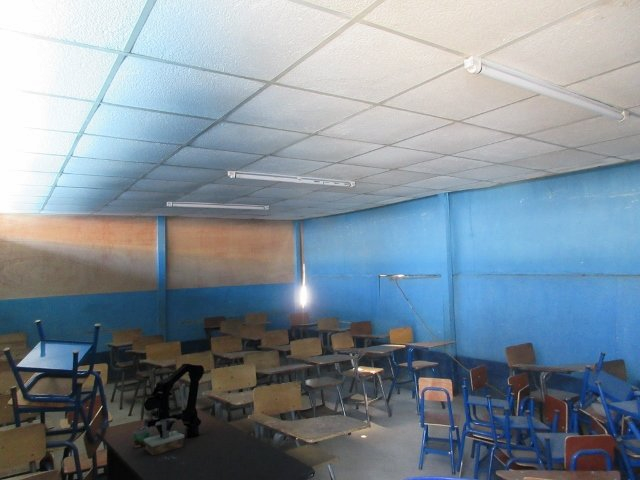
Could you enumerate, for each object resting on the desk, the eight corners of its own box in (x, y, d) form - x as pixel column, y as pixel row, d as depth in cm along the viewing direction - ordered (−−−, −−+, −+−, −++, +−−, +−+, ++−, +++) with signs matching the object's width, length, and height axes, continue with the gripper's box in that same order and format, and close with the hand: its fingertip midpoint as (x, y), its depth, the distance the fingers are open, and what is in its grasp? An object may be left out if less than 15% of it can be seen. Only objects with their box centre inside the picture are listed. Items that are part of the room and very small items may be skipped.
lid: (175, 434, 238) (175, 424, 239) (184, 439, 229) (184, 428, 230) (143, 443, 227) (143, 432, 228) (152, 448, 218) (152, 437, 219)
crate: (175, 442, 237) (174, 433, 238) (183, 447, 229) (183, 437, 229) (145, 451, 227) (145, 441, 227) (152, 456, 218) (152, 446, 219)
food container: (143, 450, 229) (143, 430, 230) (133, 449, 230) (132, 430, 231) (156, 441, 241) (156, 423, 242) (146, 441, 242) (146, 423, 243)
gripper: (174, 399, 242) (175, 428, 241) (140, 407, 230) (140, 437, 229) (182, 402, 234) (183, 432, 232) (147, 410, 222) (148, 442, 220)
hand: (164, 436), depth 229 cm, fingers closed on lid, 3 cm apart
